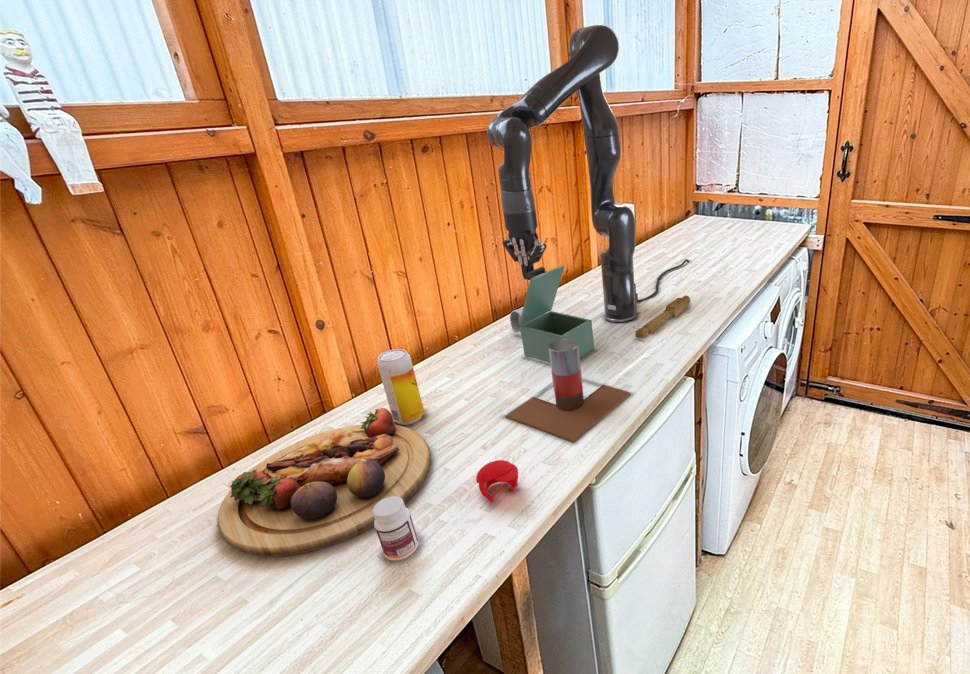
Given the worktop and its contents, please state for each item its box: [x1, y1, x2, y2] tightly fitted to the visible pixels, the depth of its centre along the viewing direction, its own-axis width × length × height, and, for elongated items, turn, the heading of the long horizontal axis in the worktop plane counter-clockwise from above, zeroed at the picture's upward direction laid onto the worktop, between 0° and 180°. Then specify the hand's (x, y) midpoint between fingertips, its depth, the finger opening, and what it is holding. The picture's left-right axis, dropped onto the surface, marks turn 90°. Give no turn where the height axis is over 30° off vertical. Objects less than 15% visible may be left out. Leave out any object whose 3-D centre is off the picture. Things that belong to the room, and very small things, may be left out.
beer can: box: [376, 348, 425, 426], centre depth 106 cm, size 6×6×15 cm
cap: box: [475, 459, 519, 504], centre depth 86 cm, size 8×6×6 cm
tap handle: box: [634, 295, 691, 339], centre depth 151 cm, size 3×3×30 cm
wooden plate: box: [216, 407, 432, 557], centre depth 89 cm, size 32×32×8 cm
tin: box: [549, 339, 585, 411], centre depth 108 cm, size 6×6×14 cm
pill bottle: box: [373, 496, 419, 561], centre depth 75 cm, size 5×5×8 cm
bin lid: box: [519, 264, 565, 326], centre depth 130 cm, size 14×12×4 cm
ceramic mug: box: [509, 307, 544, 334], centre depth 147 cm, size 11×8×8 cm
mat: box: [505, 384, 631, 443], centre depth 111 cm, size 20×18×1 cm
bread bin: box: [520, 310, 595, 364], centre depth 132 cm, size 14×12×9 cm
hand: (528, 278), depth 129 cm, fingers closed
